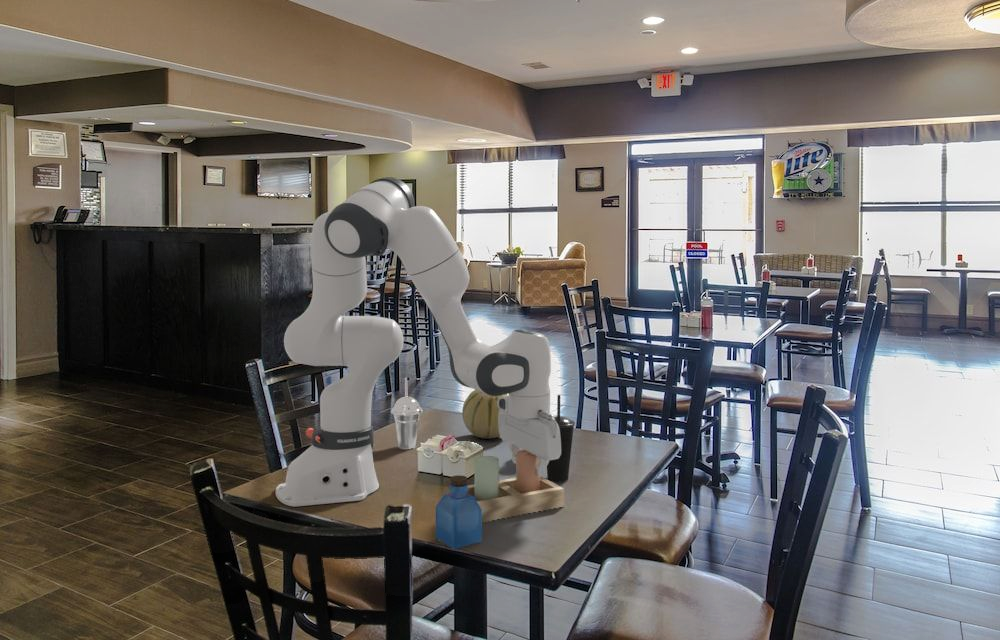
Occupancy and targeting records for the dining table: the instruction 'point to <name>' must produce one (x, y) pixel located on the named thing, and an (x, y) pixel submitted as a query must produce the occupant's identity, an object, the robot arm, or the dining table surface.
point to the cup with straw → (406, 419)
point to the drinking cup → (562, 449)
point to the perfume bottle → (458, 516)
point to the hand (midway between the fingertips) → (528, 469)
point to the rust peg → (526, 472)
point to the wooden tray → (520, 500)
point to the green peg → (486, 478)
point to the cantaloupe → (482, 414)
